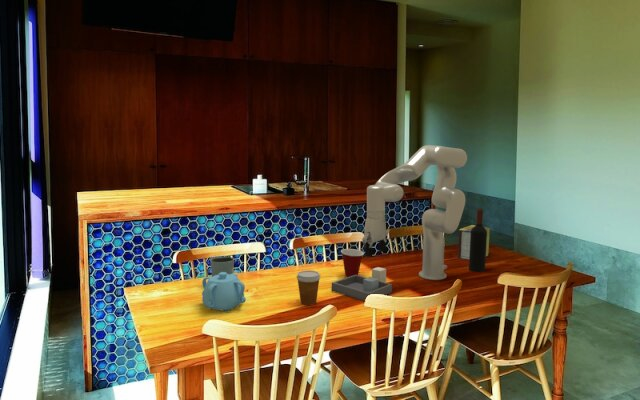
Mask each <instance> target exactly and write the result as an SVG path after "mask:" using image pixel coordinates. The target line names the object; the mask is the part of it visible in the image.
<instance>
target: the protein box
mask: <svg viewBox="0 0 640 400" xmlns="http://www.w3.org/2000/svg"><path fill="white" fill-rule="evenodd" d="M475 226H476V224H475V225H474V224H471V225H468V226H464V227H463V228H460V229H458V242H457V243H458V244H457V245H458V247H457V248H458V249H457V258H458V259H462V260H467V261H469V256H470V236H471V229H472V228H473V227H475ZM483 227H484V228H485V229H486V230H487V243H486V257H488V256H489V249H490V232H491V231H490V229H491V228H490V227H488V226H483Z"/></svg>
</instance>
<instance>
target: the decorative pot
mask: <svg viewBox="0 0 640 400" xmlns="http://www.w3.org/2000/svg"><path fill="white" fill-rule="evenodd" d="M201 284H202V287H203V291H202V292H201V295H202V299H201V302H202V303H203V305H204V306H205V307H206V308H208V309H209V308H210V310H216V311H222V312H225V311H226V312H230V310H232V309H234V308H237V307H238V306H240V305H241V304H244V303H245V302H246V300H247V298H246V296H245V289H246V288H245V284H244V283H243V282H242V281H241V280H240V279H239V277H238V275H237V274H236V273H233V274H227V273H226V272H221V273H219V275H215V276H213V277H212V276H206V277H204V278H203V279H202V283H201Z"/></svg>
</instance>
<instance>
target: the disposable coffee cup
mask: <svg viewBox="0 0 640 400" xmlns="http://www.w3.org/2000/svg"><path fill="white" fill-rule="evenodd" d="M320 279H321V274H320V273H319V271H315V270H301V271H299V272H298V273H297V275H296V280H297V285H298V293H299V300H300V304H301V305H303V306H315V305H316V303H317V302H318V301H317V300H318V299H317V298H318V292H319V283H320Z"/></svg>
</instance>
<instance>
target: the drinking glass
mask: <svg viewBox="0 0 640 400" xmlns="http://www.w3.org/2000/svg"><path fill="white" fill-rule="evenodd" d="M209 261H210V262H209V263H210V269H211V277H213V276H215V275H219V273H221V272H226V273H227V274H234V266H235V265H234V263H235V258H234V257H231V256H216V257H212V258H210V260H209Z"/></svg>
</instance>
